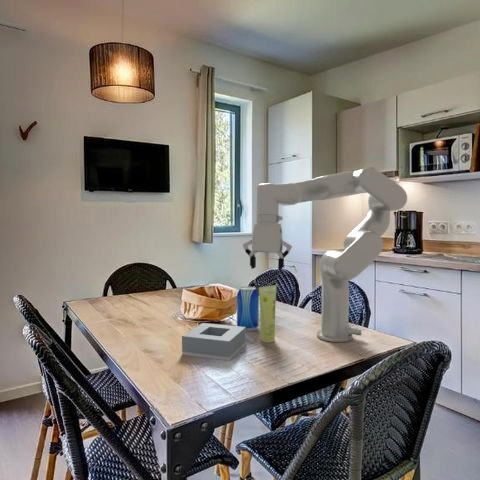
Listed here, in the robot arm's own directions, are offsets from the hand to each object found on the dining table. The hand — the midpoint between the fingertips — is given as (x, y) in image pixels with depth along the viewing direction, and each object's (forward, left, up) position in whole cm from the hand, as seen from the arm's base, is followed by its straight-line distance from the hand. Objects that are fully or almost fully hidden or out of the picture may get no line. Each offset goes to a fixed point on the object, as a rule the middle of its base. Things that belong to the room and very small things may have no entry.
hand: (266, 268), depth 136 cm
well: (+14, +14, -26) cm, 32 cm away
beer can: (+11, -12, -26) cm, 30 cm away
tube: (0, 0, -26) cm, 26 cm away
